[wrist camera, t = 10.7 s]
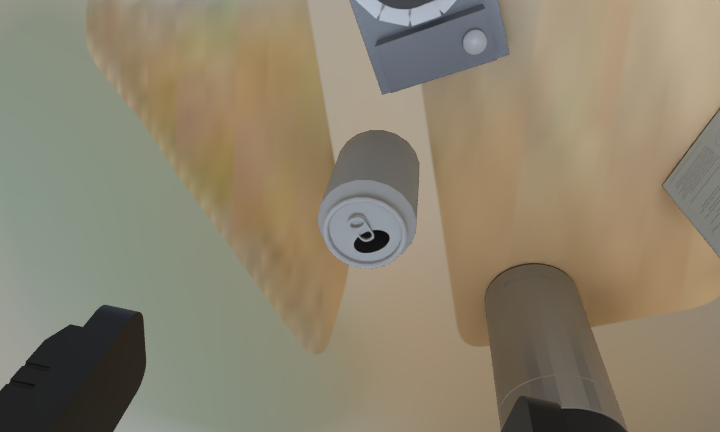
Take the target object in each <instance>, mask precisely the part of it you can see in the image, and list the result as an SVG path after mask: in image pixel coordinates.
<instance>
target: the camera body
mask: <svg viewBox="0 0 720 432" xmlns="http://www.w3.org/2000/svg"><path fill="white" fill-rule="evenodd" d="M350 3H351V6H352V9H353V12H354V15H355V18H356V20H357V23H358V26H359V29H360V32H361V35H362V37H363V41H364V43H365V46H366V49H367V52H368V55H369V58H370V61H371V63H372V66H373V69H374V72H375V75H376V77H377V81H378V84H379V86H380V89H381V92H382V94H386V93H389V92H390V93H393V92H396V91H399V90H402V89H405V88H408V87H411V86H415V85H418V84H421V83H424V82H427V81H431V80H434V79H437V78H440V77H443V76H446V75H450V74H453V73H456V72H459V71H462V70H465V69H468V68H472V67H475V66H478V65H481V64H484V63H487V62H491V61H494V60H497V58H500V57H503V56H506V55H509V49H508V45H507V40H506V36H505V31H504V27H503V22H502V18H501V13H500V9H499V4H498V0H431V1H429V2H428V3H426V4H424V5H422V6H420V7H417V8H413V9H395V8H391V7H388V6H386V5H384V4H382V3H381V2H379V1H378V0H350Z"/></svg>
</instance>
